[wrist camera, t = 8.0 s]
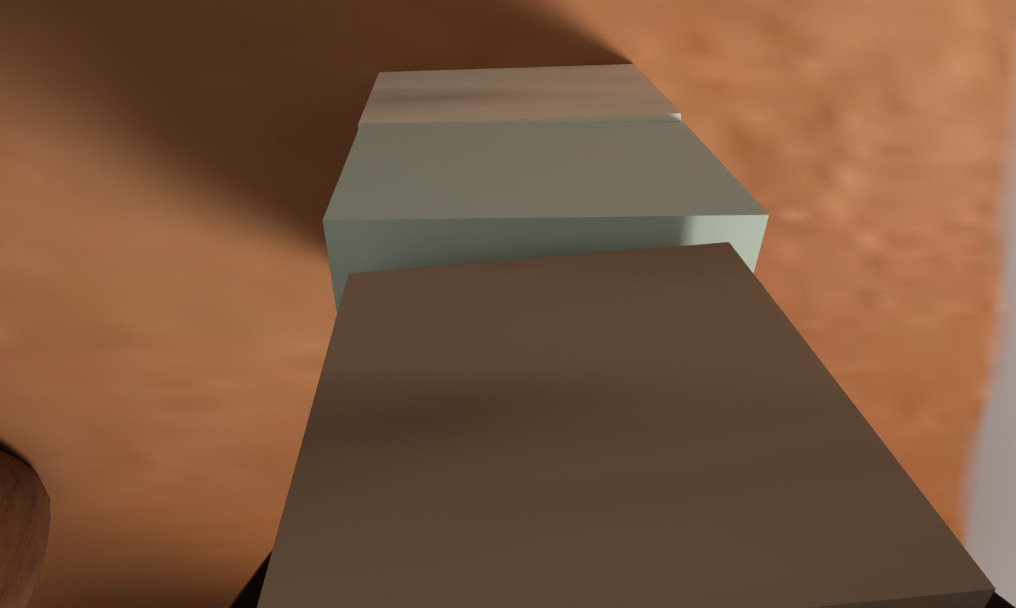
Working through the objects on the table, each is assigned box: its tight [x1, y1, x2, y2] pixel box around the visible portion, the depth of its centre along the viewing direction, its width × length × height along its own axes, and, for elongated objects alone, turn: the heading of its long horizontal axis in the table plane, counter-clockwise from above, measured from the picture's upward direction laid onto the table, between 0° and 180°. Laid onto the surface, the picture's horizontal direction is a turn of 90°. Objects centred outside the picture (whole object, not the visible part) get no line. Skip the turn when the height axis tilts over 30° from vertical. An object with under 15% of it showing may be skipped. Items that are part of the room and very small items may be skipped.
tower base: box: [358, 64, 681, 130], centre depth 15 cm, size 6×6×4 cm
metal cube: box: [257, 242, 995, 608], centre depth 8 cm, size 5×5×5 cm
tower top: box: [323, 122, 769, 313], centre depth 12 cm, size 6×6×4 cm
